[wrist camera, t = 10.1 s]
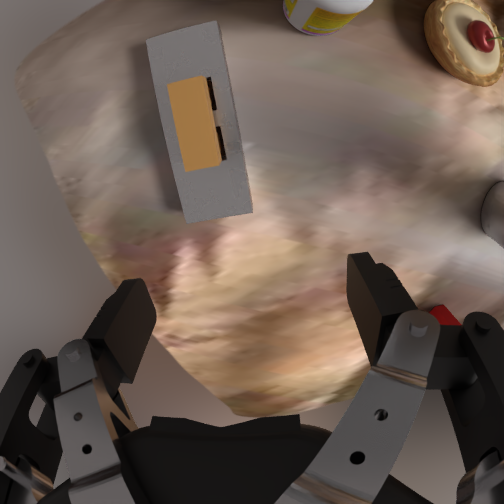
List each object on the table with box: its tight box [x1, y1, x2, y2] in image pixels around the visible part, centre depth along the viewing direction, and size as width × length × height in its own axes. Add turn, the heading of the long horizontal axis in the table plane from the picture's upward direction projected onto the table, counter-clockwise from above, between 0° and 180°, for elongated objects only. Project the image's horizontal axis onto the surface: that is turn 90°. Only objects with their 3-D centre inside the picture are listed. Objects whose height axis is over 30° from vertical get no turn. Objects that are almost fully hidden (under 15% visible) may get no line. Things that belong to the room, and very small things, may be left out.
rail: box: [146, 20, 253, 224], centre depth 26 cm, size 7×20×3 cm, turn 10°
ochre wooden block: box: [167, 75, 222, 172], centre depth 25 cm, size 3×8×6 cm, turn 9°
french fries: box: [429, 305, 461, 325], centre depth 36 cm, size 8×4×12 cm, turn 5°
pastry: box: [424, 0, 504, 87], centre depth 17 cm, size 12×12×9 cm
